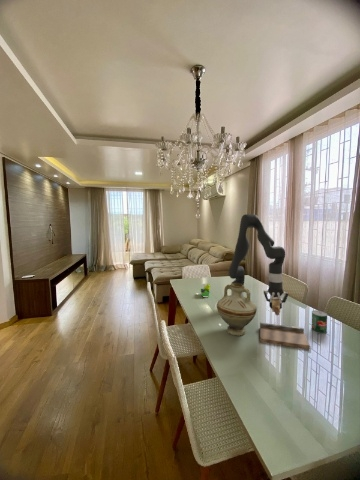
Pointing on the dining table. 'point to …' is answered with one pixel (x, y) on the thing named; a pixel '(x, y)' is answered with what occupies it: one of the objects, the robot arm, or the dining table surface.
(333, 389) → the dining table surface
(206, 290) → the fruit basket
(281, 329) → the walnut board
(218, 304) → the amphora
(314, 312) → the canned tomato
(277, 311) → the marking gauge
